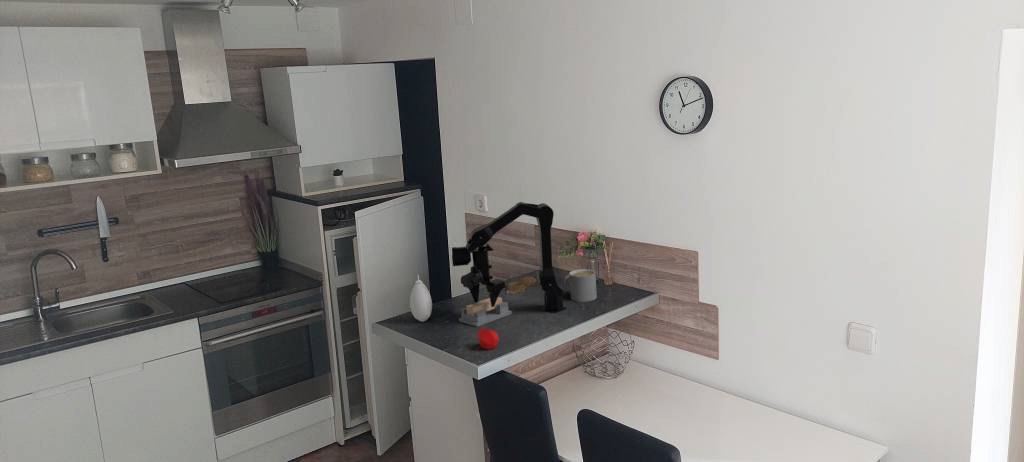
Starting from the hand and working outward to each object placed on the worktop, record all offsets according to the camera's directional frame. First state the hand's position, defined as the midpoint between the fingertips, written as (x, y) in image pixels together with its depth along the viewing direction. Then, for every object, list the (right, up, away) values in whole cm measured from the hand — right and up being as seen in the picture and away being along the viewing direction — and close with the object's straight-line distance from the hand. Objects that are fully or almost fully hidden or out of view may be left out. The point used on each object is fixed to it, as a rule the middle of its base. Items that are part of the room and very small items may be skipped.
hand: (484, 304), depth 269 cm
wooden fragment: (+14, +4, +39) cm, 42 cm away
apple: (+2, -11, -28) cm, 30 cm away
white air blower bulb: (-23, -6, +3) cm, 24 cm away
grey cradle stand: (0, -5, +1) cm, 5 cm away
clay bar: (0, -2, 0) cm, 2 cm away
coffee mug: (+37, +1, +17) cm, 40 cm away
